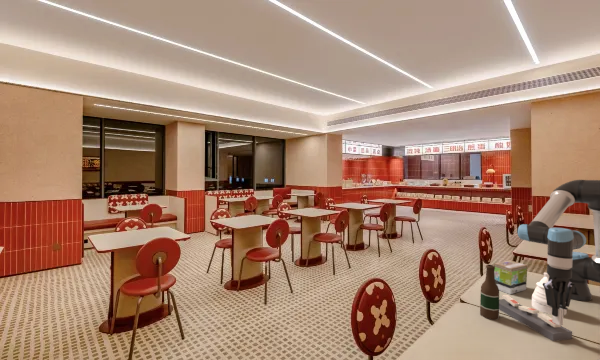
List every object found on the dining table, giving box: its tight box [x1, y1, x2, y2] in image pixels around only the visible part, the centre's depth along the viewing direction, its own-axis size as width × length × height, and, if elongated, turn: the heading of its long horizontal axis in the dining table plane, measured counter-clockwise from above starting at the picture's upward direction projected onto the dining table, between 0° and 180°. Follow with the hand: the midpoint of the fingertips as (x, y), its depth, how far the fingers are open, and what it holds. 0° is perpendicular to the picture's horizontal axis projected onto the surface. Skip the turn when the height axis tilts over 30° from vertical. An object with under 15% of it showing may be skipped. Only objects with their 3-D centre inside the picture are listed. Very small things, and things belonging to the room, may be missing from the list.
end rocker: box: [537, 312, 562, 328], centre depth 118 cm, size 7×3×1 cm, turn 9°
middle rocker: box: [518, 305, 540, 314], centre depth 127 cm, size 7×3×1 cm, turn 9°
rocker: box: [501, 293, 521, 307], centre depth 136 cm, size 7×3×1 cm, turn 9°
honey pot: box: [531, 272, 568, 316], centre depth 137 cm, size 13×13×18 cm
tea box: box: [493, 259, 528, 295], centre depth 160 cm, size 15×10×15 cm
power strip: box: [499, 298, 573, 342], centre depth 127 cm, size 29×9×4 cm, turn 9°
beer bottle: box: [479, 264, 500, 321], centre depth 131 cm, size 8×8×24 cm
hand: (557, 323), depth 114 cm, fingers closed
